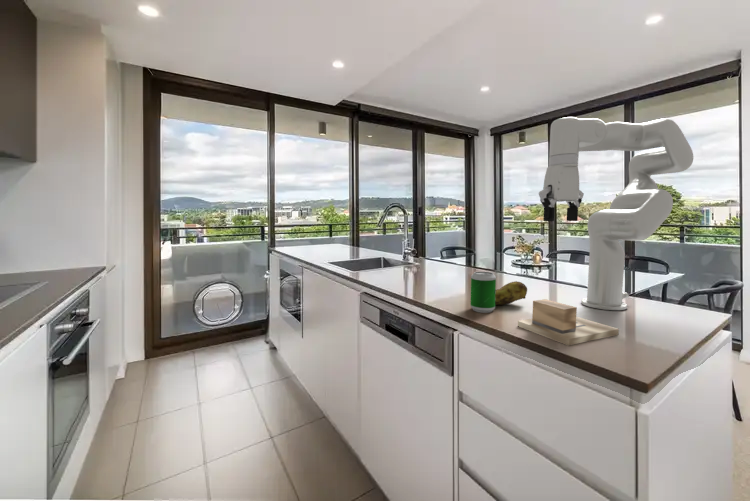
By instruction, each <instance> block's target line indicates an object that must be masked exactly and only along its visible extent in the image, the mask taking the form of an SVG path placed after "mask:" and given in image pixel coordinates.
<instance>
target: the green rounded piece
mask: <svg viewBox="0 0 750 501" xmlns="http://www.w3.org/2000/svg"><path fill="white" fill-rule="evenodd" d="M527 293H528V286H527V285H525V284H524V283H523V282H522V281H521V282H520V281H517V280H515V281H511V282H507V283H506V284H504V285H503V286H502V287H501V288H498V289H496V293H495V306H497V305H498V306H501V305H502V306H505V305H510V304H512V303H514V302H517V301H521V300H523V299H524V300H525V299H526V296H527Z"/></svg>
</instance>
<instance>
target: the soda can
mask: <svg viewBox="0 0 750 501" xmlns="http://www.w3.org/2000/svg"><path fill="white" fill-rule="evenodd" d="M496 276H497V275H495V274H494V273H493V272H489V271H474V272H473V273H472V274H471V275H470V308H471V309H472V310H473V311H474V312H476V313H480V314H481V313H484V314H487V313H489V314H490V313H492V312H493V310H495V309H496V305H495V293H496V290H497V289H496V288H497V286H496V285H497V277H496Z"/></svg>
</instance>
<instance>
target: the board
mask: <svg viewBox="0 0 750 501" xmlns="http://www.w3.org/2000/svg"><path fill="white" fill-rule="evenodd" d="M518 326H519V328H521V329H524V330H527V331H530V332H531V333H534V334H537V335H540V336H542V337H545V338H548V339H550V340H552V341H556V342H558V343H561V344H563V345H566V346H573V345H576V344H578V345H579V344H582V343H586V342H591V341H595V340H599V339H600V340H601V339H604V338H609V337H613V336H618V335H619V334H620V332H619V330H620V329H619V328H617V327H613V326H610V325H607V324H604V323H599V322H596V321H593V320H590V319H586V318H583V317H579V316H576V331H574V332H569V333H564V334H562V333H559V332H556V331H553V330H550V329H548V328H545V327H542V326H539V325H536V324H534V323H532V318H528V319H522V320H521V319H520V320H517V327H518Z"/></svg>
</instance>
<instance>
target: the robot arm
mask: <svg viewBox="0 0 750 501" xmlns="http://www.w3.org/2000/svg"><path fill="white" fill-rule="evenodd" d="M605 151H623V152H624V151H625V152H638V151H641V152H639V153H636V154H634V155H633V156H632V157H631V158H630V161H629V163H628V178H629V179H628V181H629V182H628V184H627V185H626V187H625V188H624V189H623V190H622V191H620V193H618V195H616V197H615V198H614V199H613V200H612V202H610V205H609V206H610V207H609V209H603V210H602V209H601V210H598V211H595V212H593V213H592V214H591V215H590V216H589V218H588V220H587V233H588V239H589V260H588V273H587V274H588V276H587V291H586V297H584V298H581V302H580V303H581V304H582V305H584V306H585V307H589V308H593V309H598V310H605V311H625V310H627V309H628V304H627V303H625V302H623V299H628V298H630V295H629V293H628V292H623V286H624V270H625V258H626V256H625V255H626V254H625V250H624V247H623V245H622V244H621V242H620V241H632V242H638V241H639V242H640V241H644V240H646V239H649V237H651V236H652V235H653V234H654V233H655V232H656V231H657V229H658V228H660V226H661V225H662V224H663V223H664V222H665V221H666V220H667V218H668V217H669V216H670V214H671V212H672V209H673V206H674V205H673V204H674V200H673V196H672V194H671V193H670V192H669V191H667V190H665V189H663V188H658V184H657V183H656V181H655V180H654V179H653V178H652V176H653V175H654V176H655V175H663V174H664V175H665V174H675V173H681V172H684V171H686V170H688V169H689V168H690V167H691V166H692V165H693V162H694V152H693V149H692V147H691V145H690V143H689V141H688V140H687V138H686V136H685V134H684V132H683V131H682V129H681V128H680V126H679V125H678V124H677V123H676V122H675V121H674V120H673V119H670V118H667V117H666V118H664V117H663V118H660V119H654V120H651V121H648V122H642V123H634V122H633V123H632V122H623V121H614V122H613V121H612V122H607V123H605V122H604V121H603V120H602V119H599V118H594V117H592V118H578V117H575V116H567V117H562V118H561V117H560V118H557V119H555V120H553V121H552V122H551V124H550V135H549V155H548V156H549V157H548V167H547V168H546V171H545V173H544V174H545V175H544V180H543V188H542V189H541V190H540V191H539V192H538V195H539V196H538V197H539V199H540V201H539V202H540V203H541V206H542V208H543V220H542V221H544V222H554V221H555V210H556V209H555V204H556V203H557V202H560V203H561V202H566V204H567V206H568V207H567V209H566V221H567V222H577V221H578V216H579V208H580V206H581V205H580V204H581V203H582V201H583V198H584V194H585V193H584V192H583V191H582V190H580V172H579V154H580V153H581V152H605ZM579 152H580V153H579Z"/></svg>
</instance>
